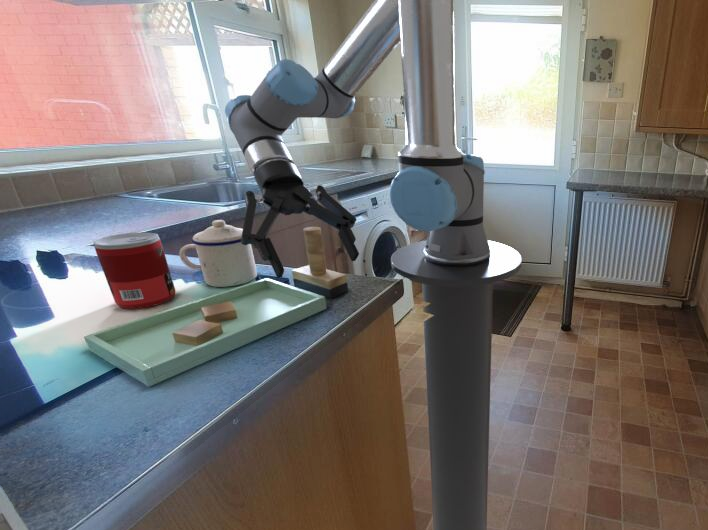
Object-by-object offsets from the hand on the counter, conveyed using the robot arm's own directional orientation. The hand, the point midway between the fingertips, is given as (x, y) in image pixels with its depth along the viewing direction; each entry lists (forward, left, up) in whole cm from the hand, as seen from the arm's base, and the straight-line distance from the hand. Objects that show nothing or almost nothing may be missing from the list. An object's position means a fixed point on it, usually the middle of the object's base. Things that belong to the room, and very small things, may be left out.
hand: (320, 265), depth 75 cm
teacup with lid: (+7, -20, -5) cm, 22 cm away
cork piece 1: (+22, +1, -4) cm, 22 cm away
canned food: (+19, -21, -5) cm, 29 cm away
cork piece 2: (+17, -3, -4) cm, 17 cm away
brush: (0, -1, -5) cm, 5 cm away
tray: (+18, -1, -5) cm, 18 cm away
